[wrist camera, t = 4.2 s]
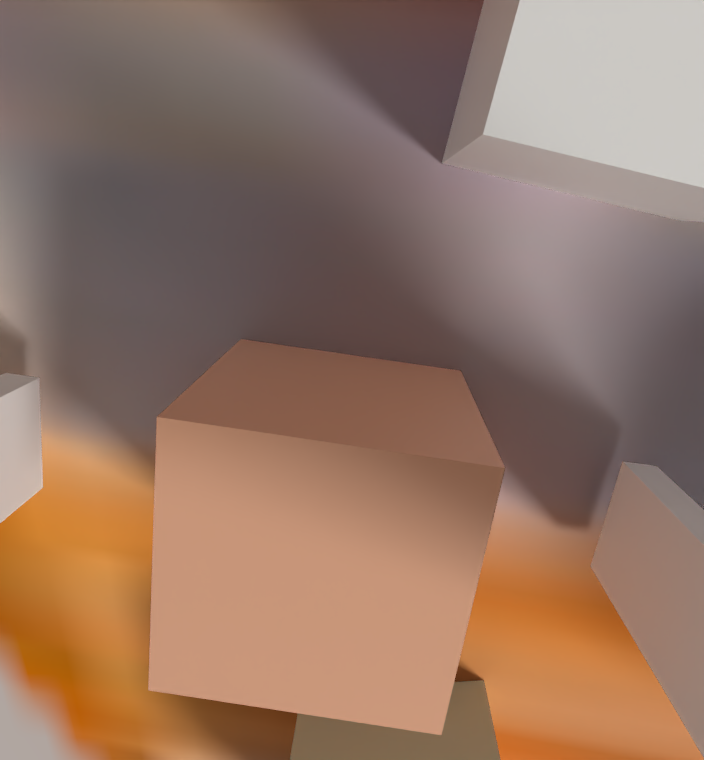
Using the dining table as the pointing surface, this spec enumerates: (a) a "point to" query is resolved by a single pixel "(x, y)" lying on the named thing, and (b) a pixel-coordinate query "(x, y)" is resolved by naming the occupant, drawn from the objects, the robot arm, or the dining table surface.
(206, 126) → the dining table surface
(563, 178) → the grey block
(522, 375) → the dining table surface
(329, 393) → the terracotta block
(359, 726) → the sage block
